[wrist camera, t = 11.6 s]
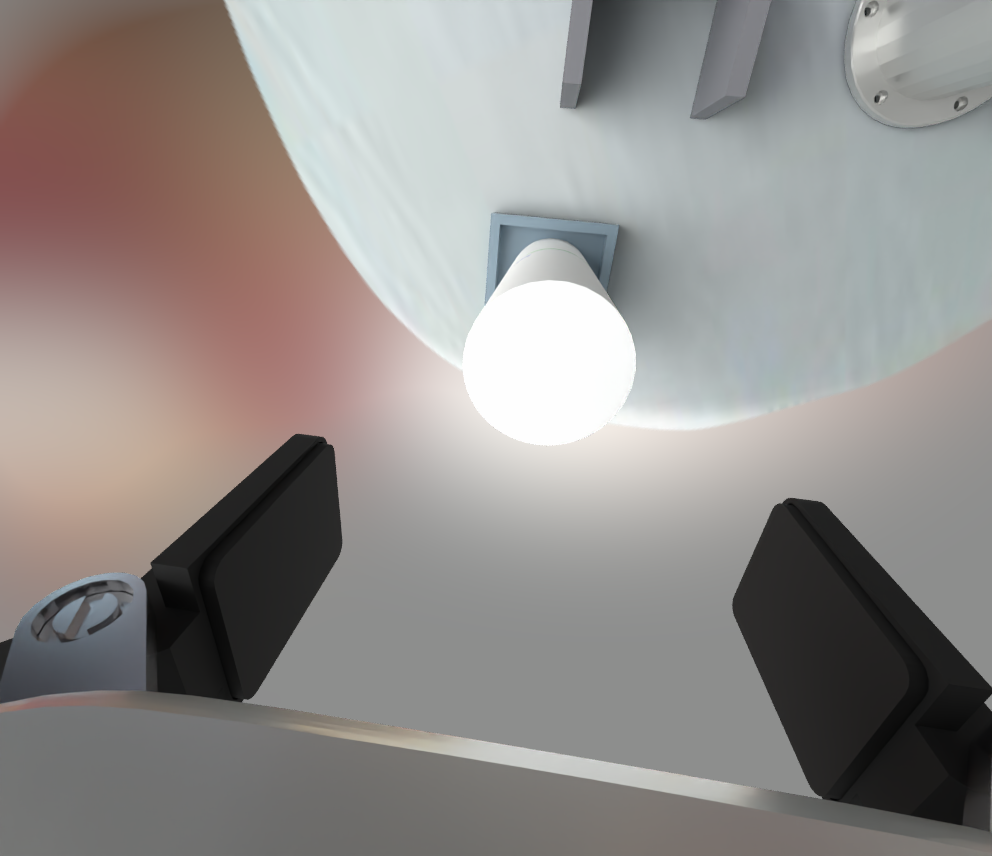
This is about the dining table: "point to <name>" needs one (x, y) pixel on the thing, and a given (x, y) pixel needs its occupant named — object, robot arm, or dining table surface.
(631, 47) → the dining table surface
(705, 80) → the bay
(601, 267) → the tray
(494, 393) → the cylindrical container
